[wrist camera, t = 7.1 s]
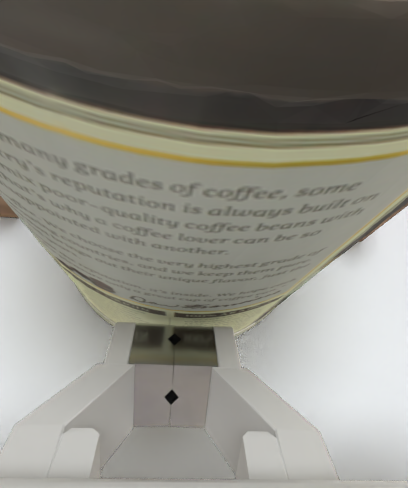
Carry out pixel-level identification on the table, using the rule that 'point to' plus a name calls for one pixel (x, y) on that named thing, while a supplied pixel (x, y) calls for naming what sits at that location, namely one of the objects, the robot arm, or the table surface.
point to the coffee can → (201, 145)
